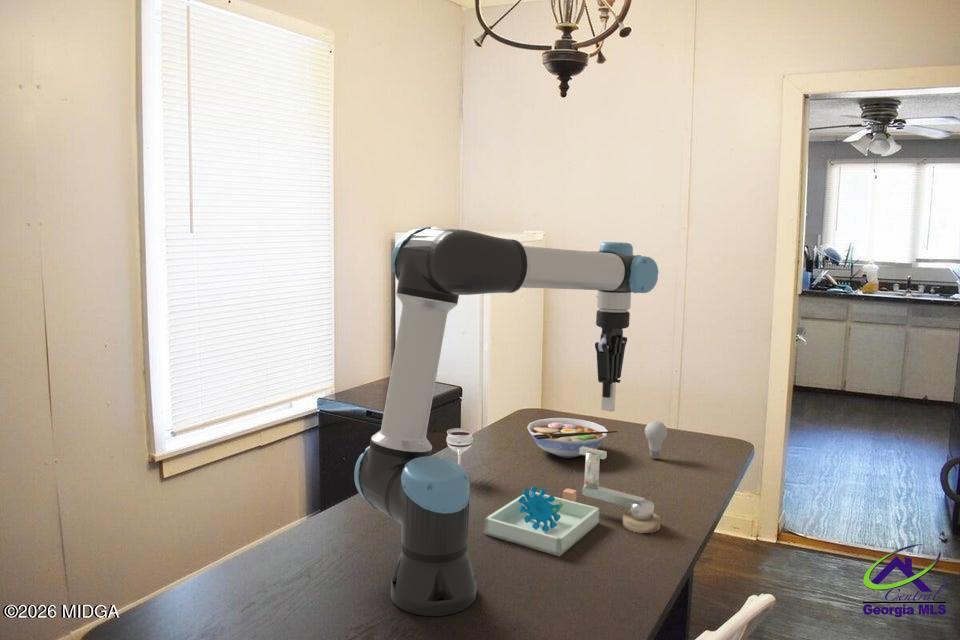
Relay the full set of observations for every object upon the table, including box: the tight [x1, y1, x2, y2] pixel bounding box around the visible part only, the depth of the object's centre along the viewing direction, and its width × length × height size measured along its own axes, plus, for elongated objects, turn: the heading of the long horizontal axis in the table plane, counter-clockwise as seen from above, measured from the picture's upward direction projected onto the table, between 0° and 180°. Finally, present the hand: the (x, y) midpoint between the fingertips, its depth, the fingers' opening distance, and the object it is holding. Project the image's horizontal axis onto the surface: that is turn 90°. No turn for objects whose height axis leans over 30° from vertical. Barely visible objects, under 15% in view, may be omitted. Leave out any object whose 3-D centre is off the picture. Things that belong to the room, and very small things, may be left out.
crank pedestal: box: [622, 510, 661, 534], centre depth 161 cm, size 8×8×2 cm
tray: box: [483, 489, 600, 557], centre depth 159 cm, size 20×18×4 cm
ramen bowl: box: [527, 417, 618, 459], centre depth 209 cm, size 25×23×8 cm
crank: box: [579, 446, 655, 521], centre depth 164 cm, size 18×5×12 cm, turn 55°
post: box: [561, 487, 577, 502], centre depth 171 cm, size 2×2×4 cm
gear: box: [518, 486, 563, 532], centre depth 160 cm, size 11×6×10 cm
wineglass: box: [446, 427, 474, 466], centre depth 187 cm, size 7×7×12 cm
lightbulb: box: [644, 420, 668, 460], centre depth 206 cm, size 6×6×11 cm
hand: (607, 410), depth 172 cm, fingers closed
